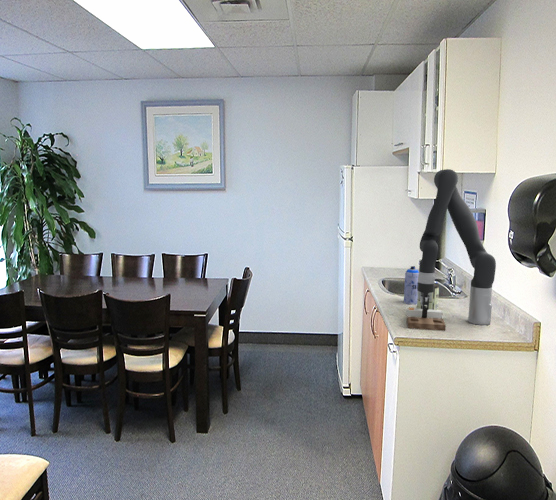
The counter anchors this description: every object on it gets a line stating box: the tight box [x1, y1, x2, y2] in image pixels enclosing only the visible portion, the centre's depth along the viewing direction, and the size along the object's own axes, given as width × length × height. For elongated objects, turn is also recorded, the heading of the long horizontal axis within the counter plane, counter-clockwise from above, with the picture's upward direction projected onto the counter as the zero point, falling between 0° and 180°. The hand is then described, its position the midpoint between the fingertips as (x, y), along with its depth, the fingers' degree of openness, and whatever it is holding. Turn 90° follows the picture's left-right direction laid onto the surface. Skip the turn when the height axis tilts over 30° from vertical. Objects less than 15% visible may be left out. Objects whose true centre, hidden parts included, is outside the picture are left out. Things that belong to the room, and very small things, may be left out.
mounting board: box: [406, 315, 447, 332], centre depth 220 cm, size 16×10×2 cm, turn 78°
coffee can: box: [416, 282, 440, 310], centre depth 243 cm, size 10×10×14 cm
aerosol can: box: [403, 265, 419, 306], centre depth 259 cm, size 8×8×20 cm
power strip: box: [405, 307, 444, 319], centre depth 228 cm, size 16×4×6 cm, turn 78°
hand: (423, 315), depth 228 cm, fingers open, 7 cm apart
